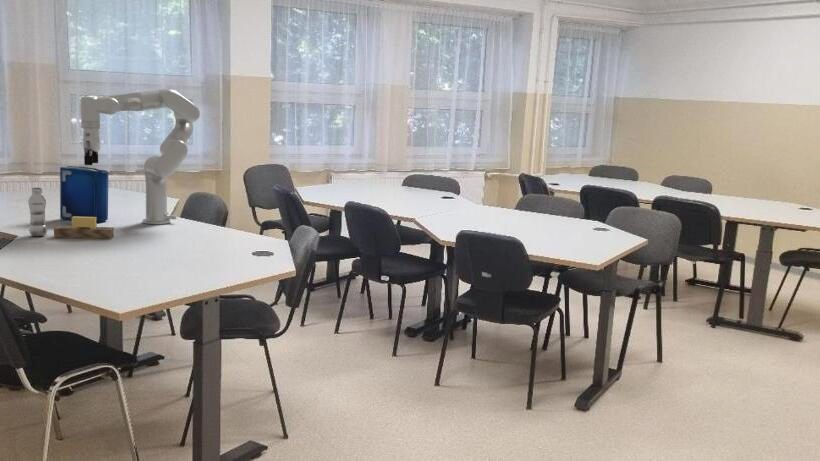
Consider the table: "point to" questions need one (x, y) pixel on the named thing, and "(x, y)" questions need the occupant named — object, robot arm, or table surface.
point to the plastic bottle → (37, 213)
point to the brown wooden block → (84, 232)
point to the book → (83, 193)
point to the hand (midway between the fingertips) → (91, 164)
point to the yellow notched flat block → (84, 222)
